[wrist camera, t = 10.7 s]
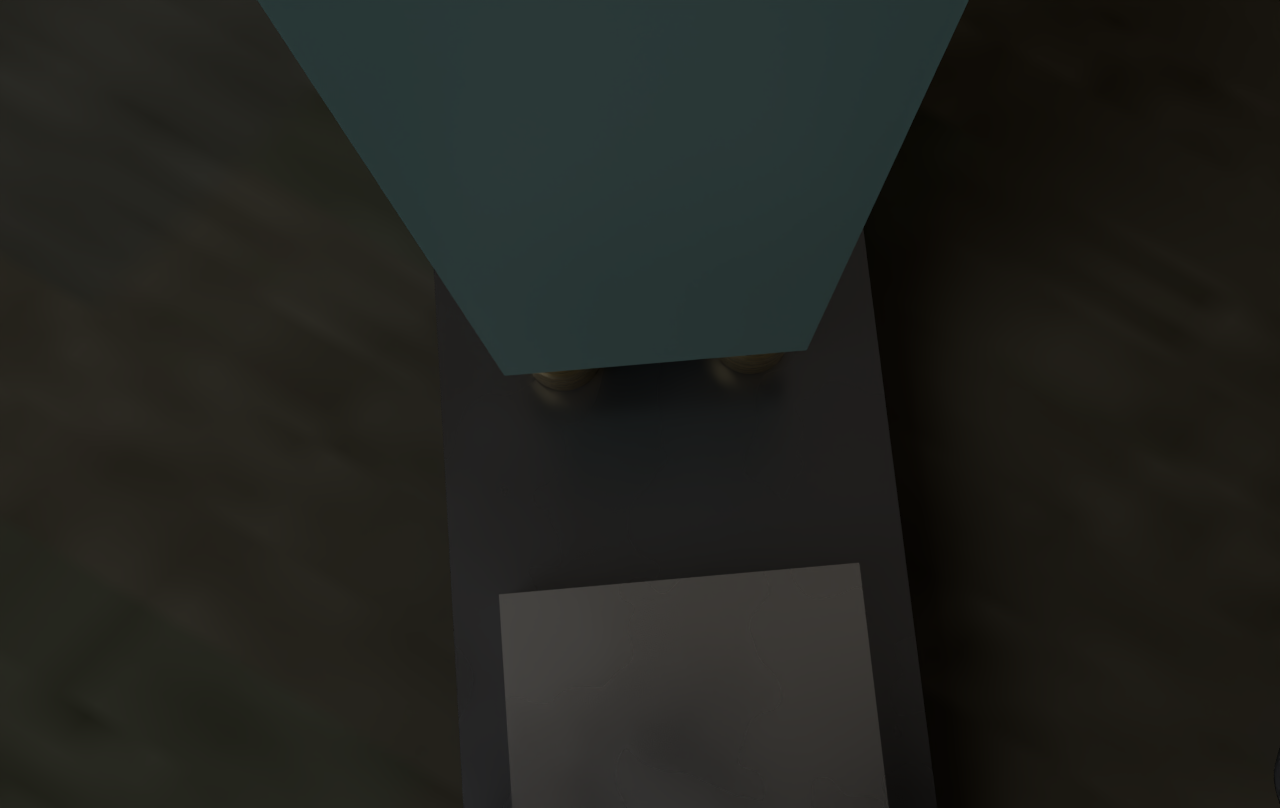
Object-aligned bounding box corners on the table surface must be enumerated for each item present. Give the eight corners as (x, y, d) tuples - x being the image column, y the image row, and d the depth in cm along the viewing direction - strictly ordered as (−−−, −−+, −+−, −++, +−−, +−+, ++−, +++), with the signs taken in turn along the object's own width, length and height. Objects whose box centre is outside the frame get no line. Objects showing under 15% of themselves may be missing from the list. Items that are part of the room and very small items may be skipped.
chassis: (932, 905, 21) (982, 956, 18) (486, 942, 21) (450, 1001, 18) (829, 73, 24) (854, -19, 21) (438, 109, 24) (399, 23, 21)
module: (806, 350, 20) (1020, -111, 8) (504, 375, 20) (231, -40, 8) (776, 69, 21) (920, -744, 8) (488, 94, 21) (219, -677, 9)
